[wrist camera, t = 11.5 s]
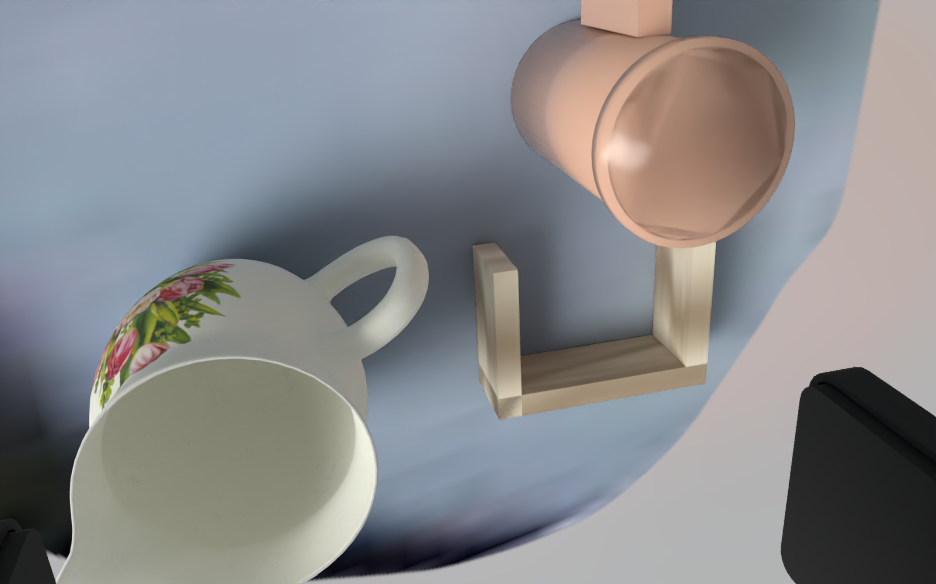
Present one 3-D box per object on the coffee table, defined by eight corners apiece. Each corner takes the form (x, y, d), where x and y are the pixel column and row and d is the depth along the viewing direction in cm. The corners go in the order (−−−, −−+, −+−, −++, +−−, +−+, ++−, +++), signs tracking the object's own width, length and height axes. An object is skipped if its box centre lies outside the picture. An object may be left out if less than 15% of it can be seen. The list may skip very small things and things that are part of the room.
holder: (472, 245, 42) (493, 273, 38) (678, 218, 44) (715, 242, 40) (479, 381, 45) (499, 419, 41) (671, 350, 47) (705, 383, 43)
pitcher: (459, 279, 42) (544, 415, 30) (197, 493, 43) (174, 709, 31) (318, 115, 37) (349, 196, 25) (26, 360, 38) (-81, 554, 26)
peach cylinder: (497, -119, 35) (603, -149, 25) (659, -126, 37) (826, -157, 26) (507, 178, 41) (598, 260, 30) (648, 162, 42) (783, 234, 31)
